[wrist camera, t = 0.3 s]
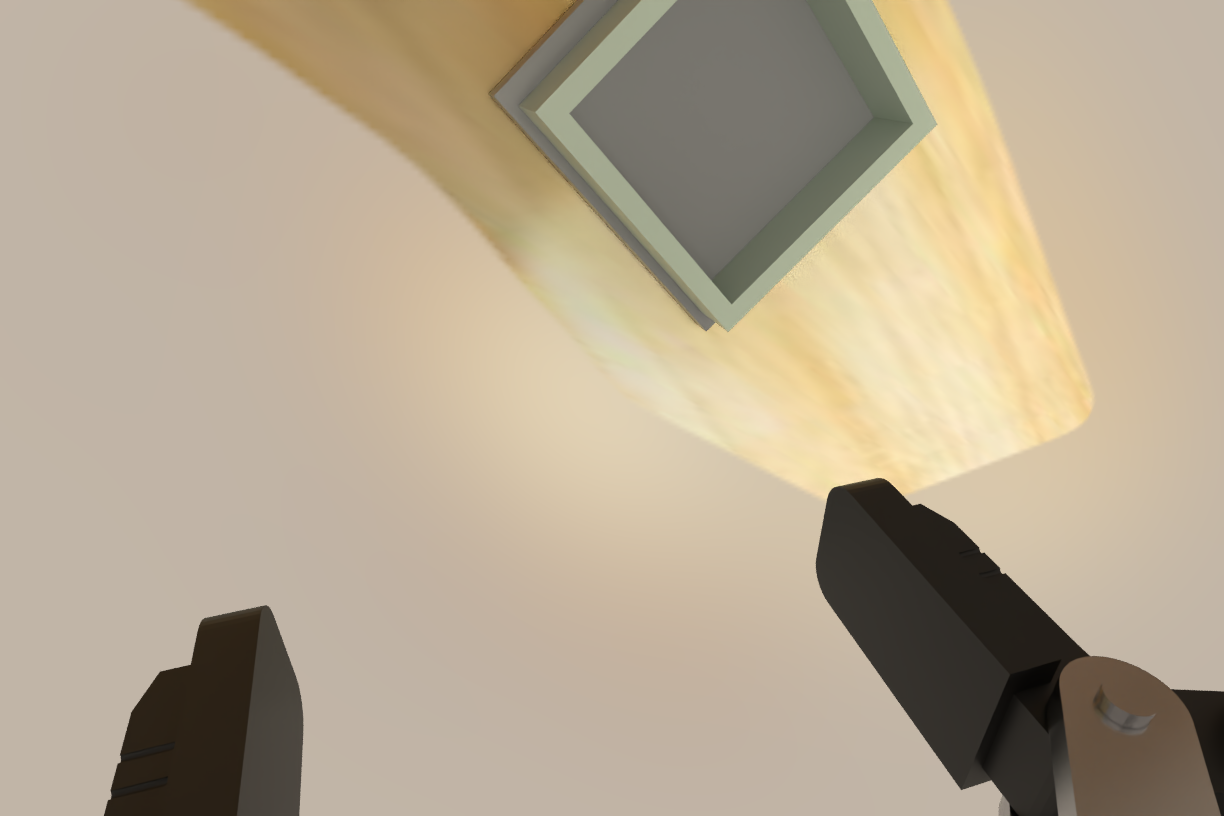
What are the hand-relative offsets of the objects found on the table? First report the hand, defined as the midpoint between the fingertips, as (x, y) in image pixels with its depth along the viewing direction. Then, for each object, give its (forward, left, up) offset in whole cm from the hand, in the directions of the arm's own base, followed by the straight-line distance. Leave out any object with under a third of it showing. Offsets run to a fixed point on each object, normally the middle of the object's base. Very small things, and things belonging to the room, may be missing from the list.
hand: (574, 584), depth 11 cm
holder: (-2, +16, -28) cm, 32 cm away
